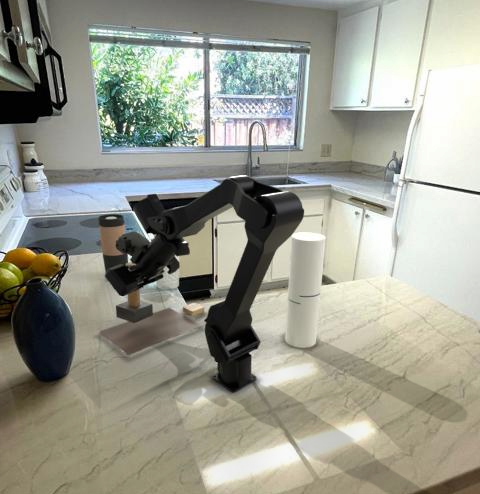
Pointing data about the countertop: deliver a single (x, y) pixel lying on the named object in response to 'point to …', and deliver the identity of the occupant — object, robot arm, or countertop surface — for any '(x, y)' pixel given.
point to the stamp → (134, 306)
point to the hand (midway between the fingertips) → (128, 289)
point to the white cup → (169, 278)
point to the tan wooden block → (193, 309)
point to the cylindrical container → (304, 288)
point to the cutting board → (148, 330)
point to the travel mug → (112, 239)
